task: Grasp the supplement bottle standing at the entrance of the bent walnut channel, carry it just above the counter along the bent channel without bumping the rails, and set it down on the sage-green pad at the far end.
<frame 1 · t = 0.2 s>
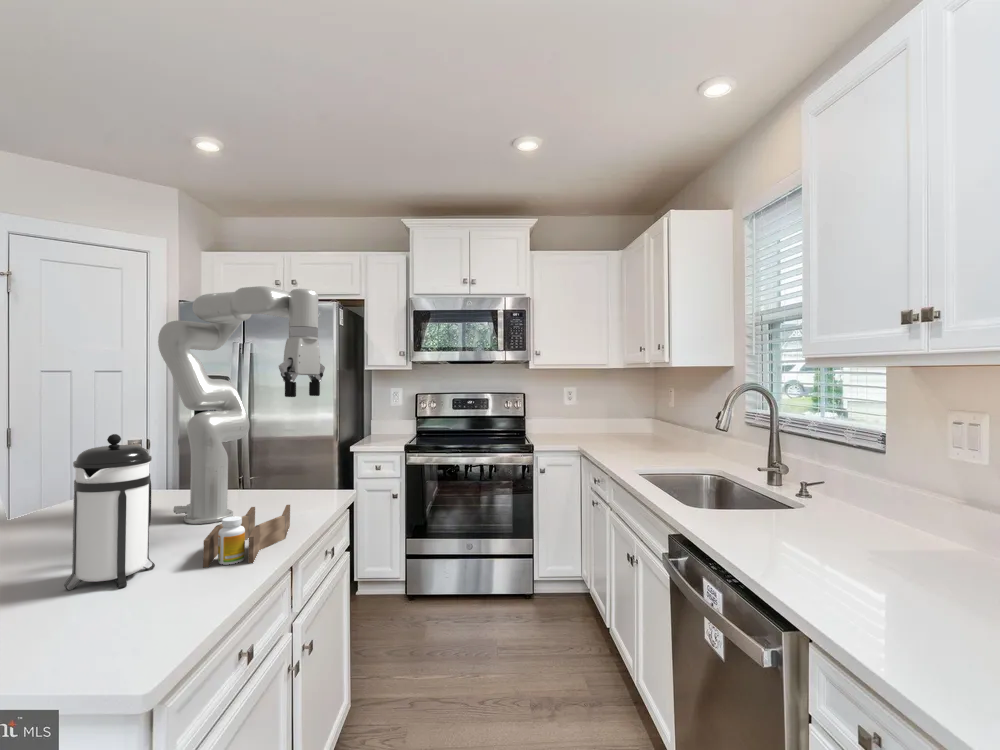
hand: (302, 396, 136), 37 cm above the countertop, tool pointing down, fingers open, 9 cm apart
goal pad: (269, 530, 135), on the countertop
channel: (251, 544, 124), on the countertop
coffee press: (113, 577, 104), on the countertop
supplement bottle: (231, 561, 113), on the countertop
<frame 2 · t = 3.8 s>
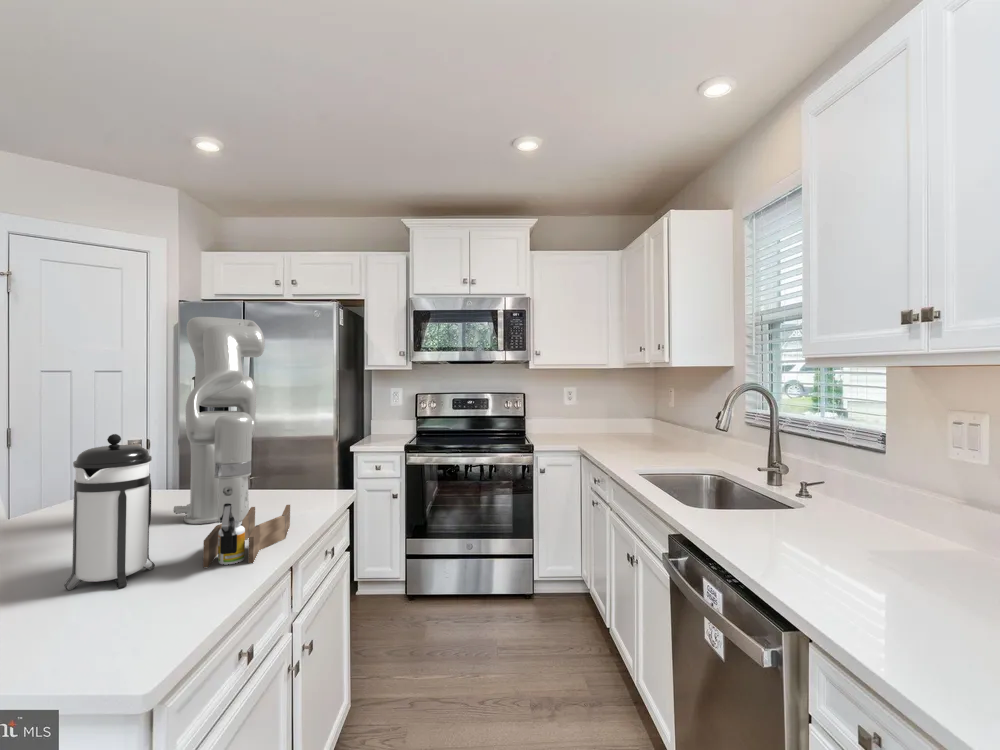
hand: (231, 547, 113), 3 cm above the countertop, tool pointing down, fingers closed on supplement bottle, 5 cm apart
supplement bottle: (231, 561, 113), on the countertop, touching gripper
everything else where it was.
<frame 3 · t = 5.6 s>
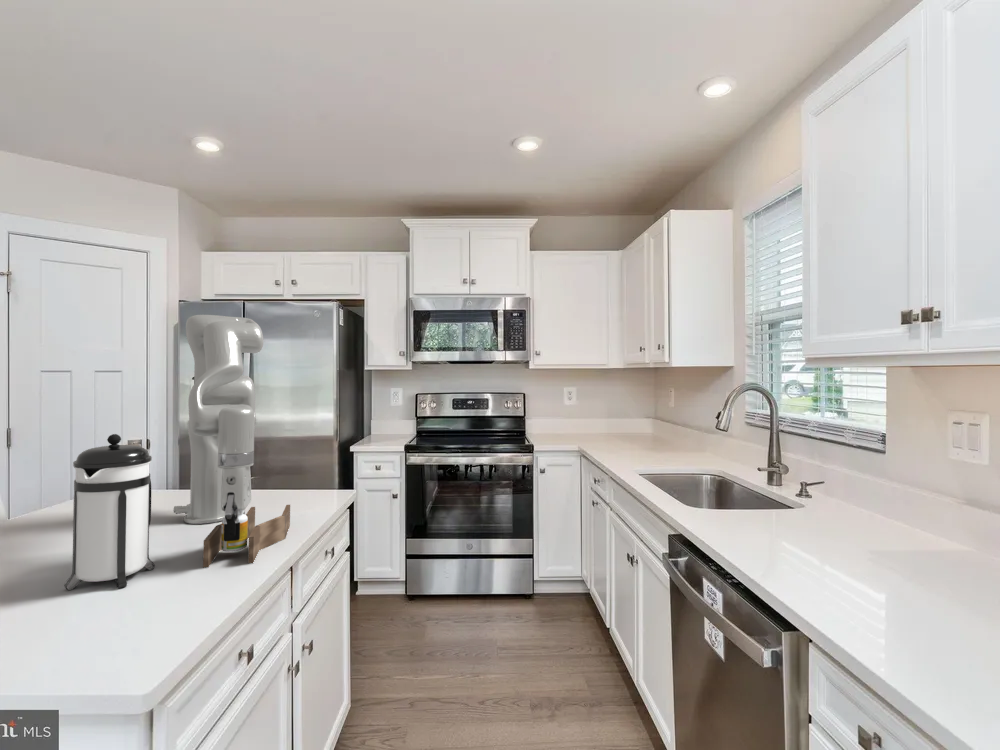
hand: (234, 535, 116), 5 cm above the countertop, tool pointing down, fingers closed on supplement bottle, 5 cm apart
supplement bottle: (234, 549, 116), point 1 cm above the countertop, touching gripper
everything else where it was.
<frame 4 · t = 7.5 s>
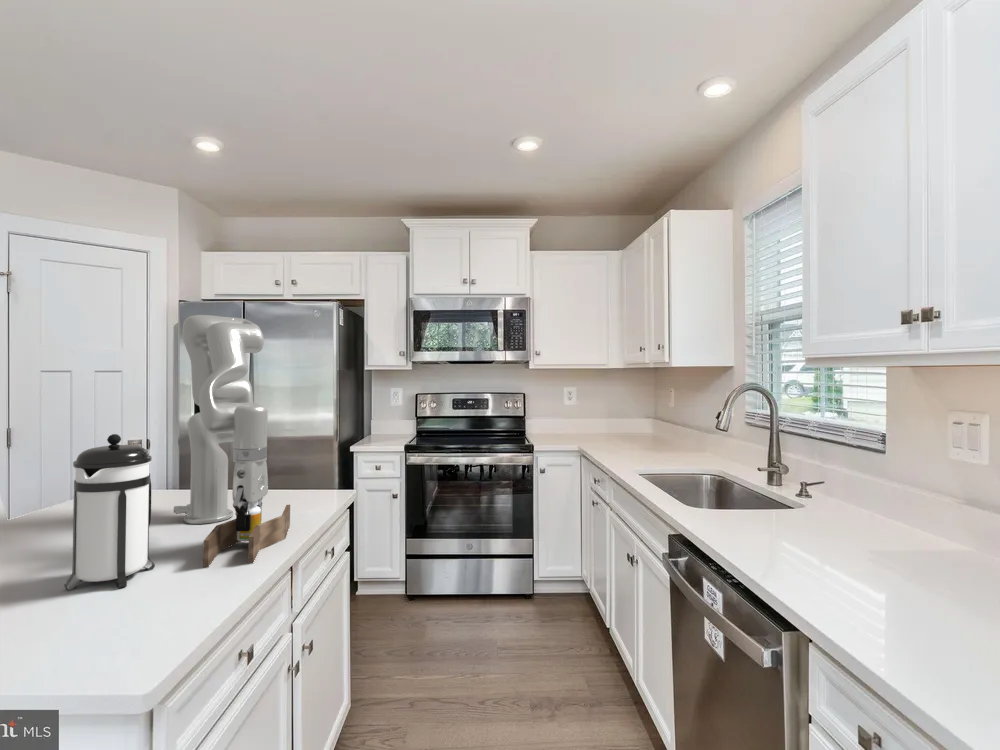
hand: (248, 526, 123), 5 cm above the countertop, tool pointing down, fingers closed on supplement bottle, 5 cm apart
supplement bottle: (248, 539, 123), point 2 cm above the countertop, touching gripper
everything else where it was.
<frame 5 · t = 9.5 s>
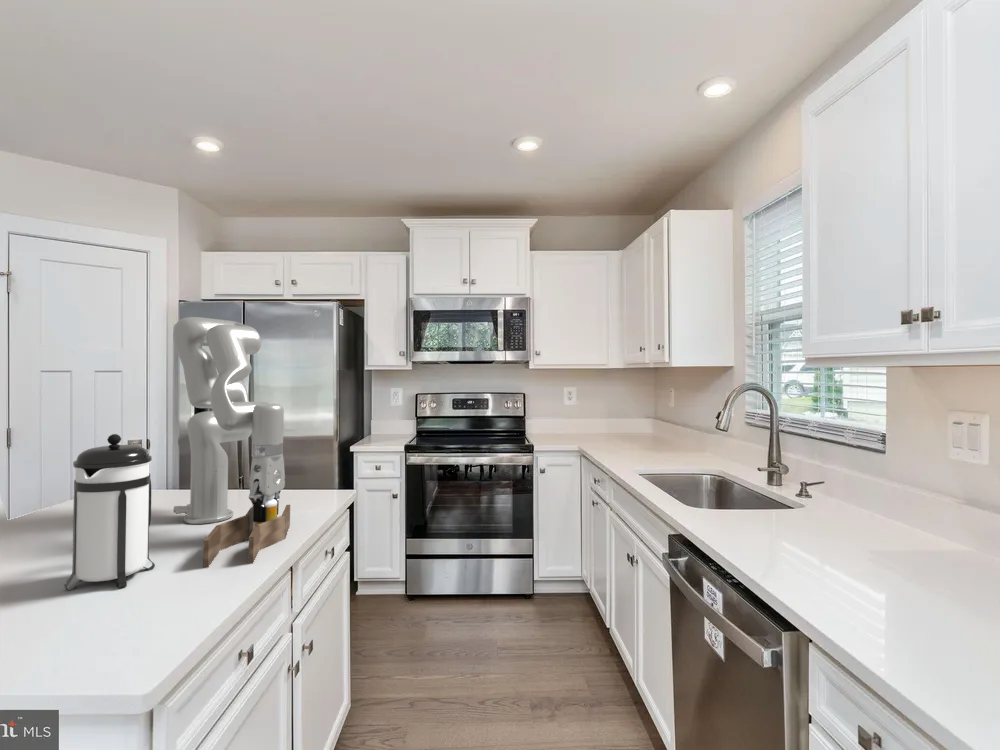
hand: (266, 517, 131), 5 cm above the countertop, tool pointing down, fingers closed on supplement bottle, 5 cm apart
supplement bottle: (265, 529, 131), point 1 cm above the countertop, touching gripper
everything else where it was.
when the fingers open (3 cm above the countertop, at t = 11.4 s): supplement bottle stays where it is, resting on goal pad.
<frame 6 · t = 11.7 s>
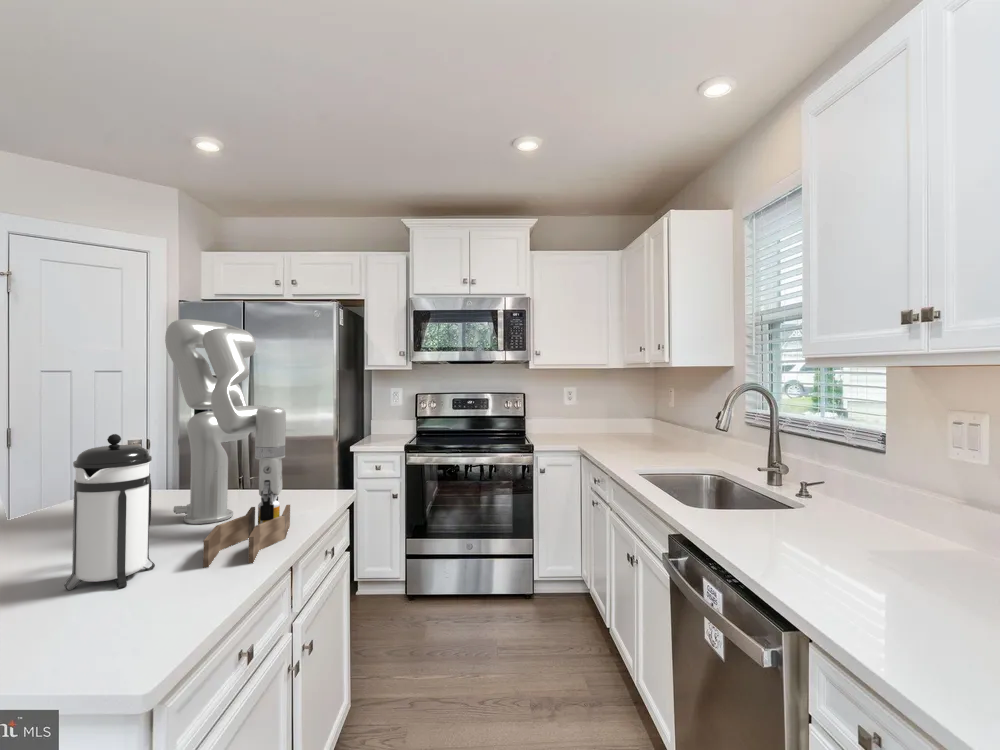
hand: (269, 515, 135), 4 cm above the countertop, tool pointing down, fingers open, 8 cm apart
supplement bottle: (268, 530, 135), resting on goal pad
everything else where it was.
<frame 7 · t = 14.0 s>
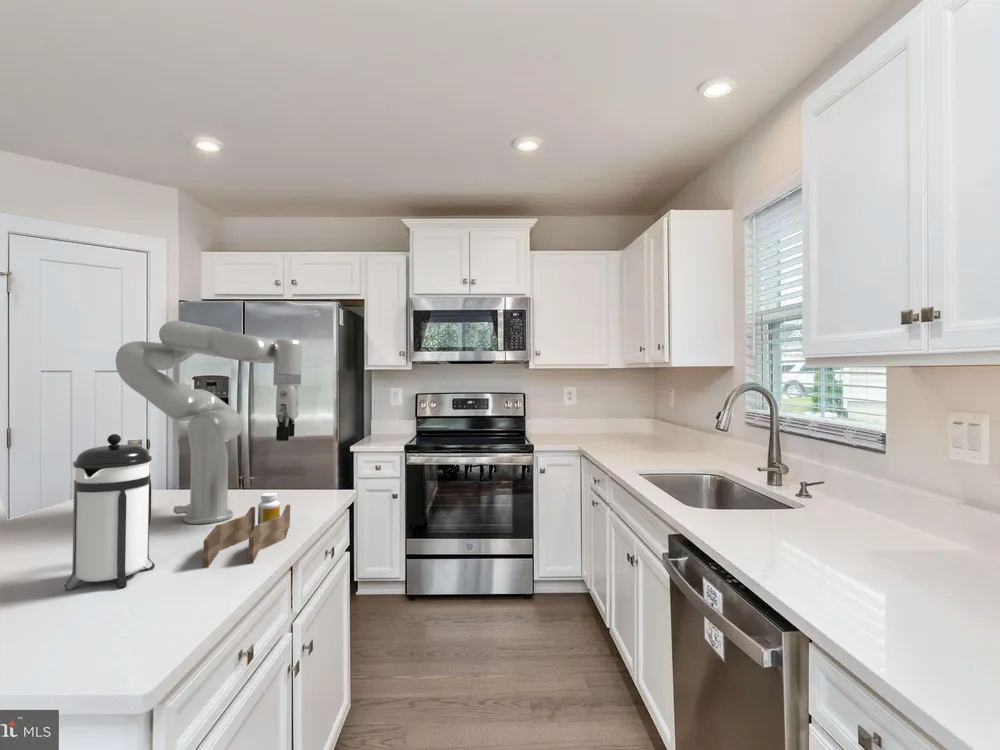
hand: (285, 438, 146), 24 cm above the countertop, tool pointing down, fingers open, 9 cm apart
nothing on the countertop moved.
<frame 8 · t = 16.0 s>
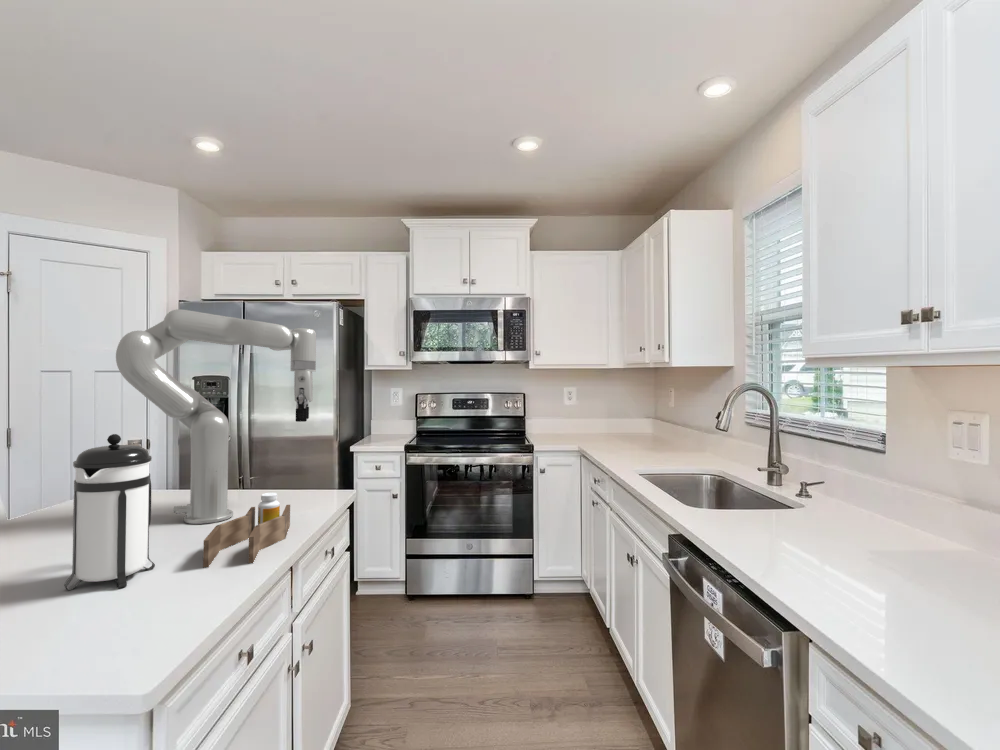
hand: (302, 420, 158), 28 cm above the countertop, tool pointing down, fingers open, 9 cm apart
nothing on the countertop moved.
at the end: supplement bottle 0.1 cm from the target spot, resting on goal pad; channel moved 0.0 cm from its start; supplement bottle tilted 0° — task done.
